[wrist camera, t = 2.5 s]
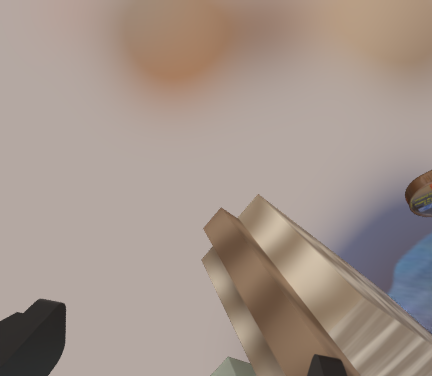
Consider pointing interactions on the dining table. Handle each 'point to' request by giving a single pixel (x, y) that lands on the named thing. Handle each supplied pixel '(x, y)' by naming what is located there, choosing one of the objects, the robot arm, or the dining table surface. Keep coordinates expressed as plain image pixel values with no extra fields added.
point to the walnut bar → (271, 299)
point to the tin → (420, 195)
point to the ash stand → (324, 302)
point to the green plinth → (234, 368)
